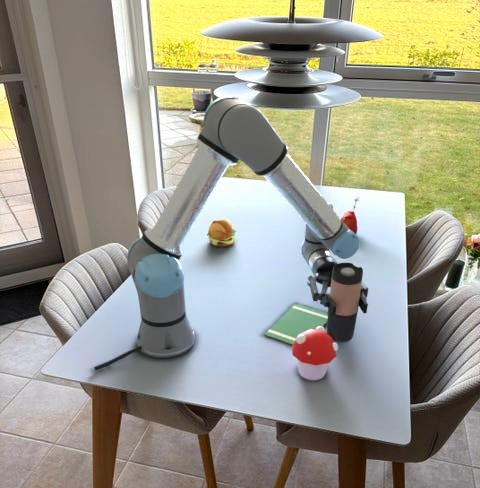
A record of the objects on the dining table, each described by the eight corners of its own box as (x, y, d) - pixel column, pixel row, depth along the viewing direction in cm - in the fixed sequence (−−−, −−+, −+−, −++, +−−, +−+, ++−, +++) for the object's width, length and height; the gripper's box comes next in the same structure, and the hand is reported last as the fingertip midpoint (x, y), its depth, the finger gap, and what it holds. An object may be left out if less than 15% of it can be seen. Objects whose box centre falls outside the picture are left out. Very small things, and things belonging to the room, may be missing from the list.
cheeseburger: (239, 237, 192) (238, 215, 185) (231, 255, 186) (229, 233, 178) (214, 234, 195) (211, 212, 187) (205, 251, 188) (202, 229, 181)
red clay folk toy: (336, 231, 197) (340, 193, 189) (354, 230, 198) (358, 193, 189) (340, 239, 191) (344, 200, 183) (358, 238, 191) (363, 200, 183)
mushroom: (331, 359, 130) (336, 320, 123) (336, 387, 121) (342, 347, 114) (290, 358, 130) (292, 319, 124) (292, 386, 121) (294, 346, 115)
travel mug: (327, 342, 134) (334, 276, 123) (324, 326, 140) (330, 261, 129) (356, 343, 134) (366, 276, 123) (352, 326, 140) (360, 262, 129)
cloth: (303, 349, 134) (304, 348, 134) (264, 335, 139) (264, 334, 139) (332, 315, 147) (332, 314, 147) (295, 304, 152) (295, 303, 152)
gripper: (357, 276, 149) (386, 319, 130) (289, 282, 147) (309, 325, 128) (360, 253, 145) (391, 294, 126) (290, 258, 143) (311, 300, 124)
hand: (350, 310), depth 127 cm, fingers closed on travel mug, 7 cm apart
